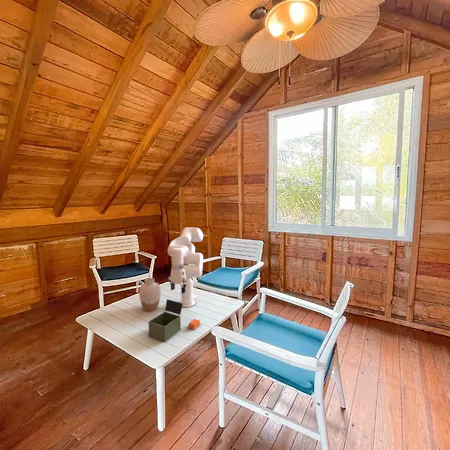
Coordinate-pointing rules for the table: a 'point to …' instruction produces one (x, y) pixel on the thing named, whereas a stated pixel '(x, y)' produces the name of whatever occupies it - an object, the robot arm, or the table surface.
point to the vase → (150, 294)
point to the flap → (173, 307)
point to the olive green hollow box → (164, 326)
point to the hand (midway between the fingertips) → (178, 291)
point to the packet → (194, 324)
